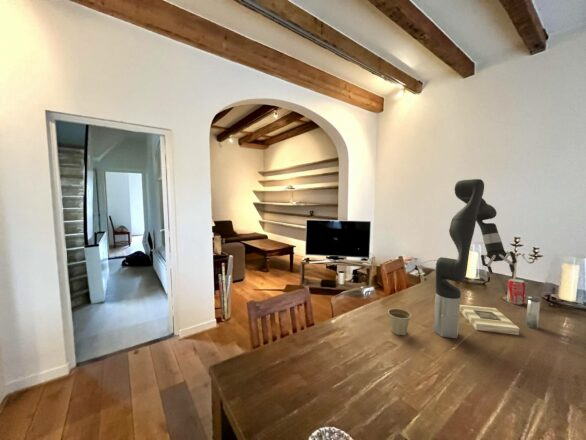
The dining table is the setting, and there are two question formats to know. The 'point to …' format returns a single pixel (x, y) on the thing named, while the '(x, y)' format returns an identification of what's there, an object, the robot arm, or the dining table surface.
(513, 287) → the soda can
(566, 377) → the dining table surface
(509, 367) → the dining table surface
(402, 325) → the flower pot
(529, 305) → the slim silver can
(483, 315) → the block
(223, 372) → the dining table surface
